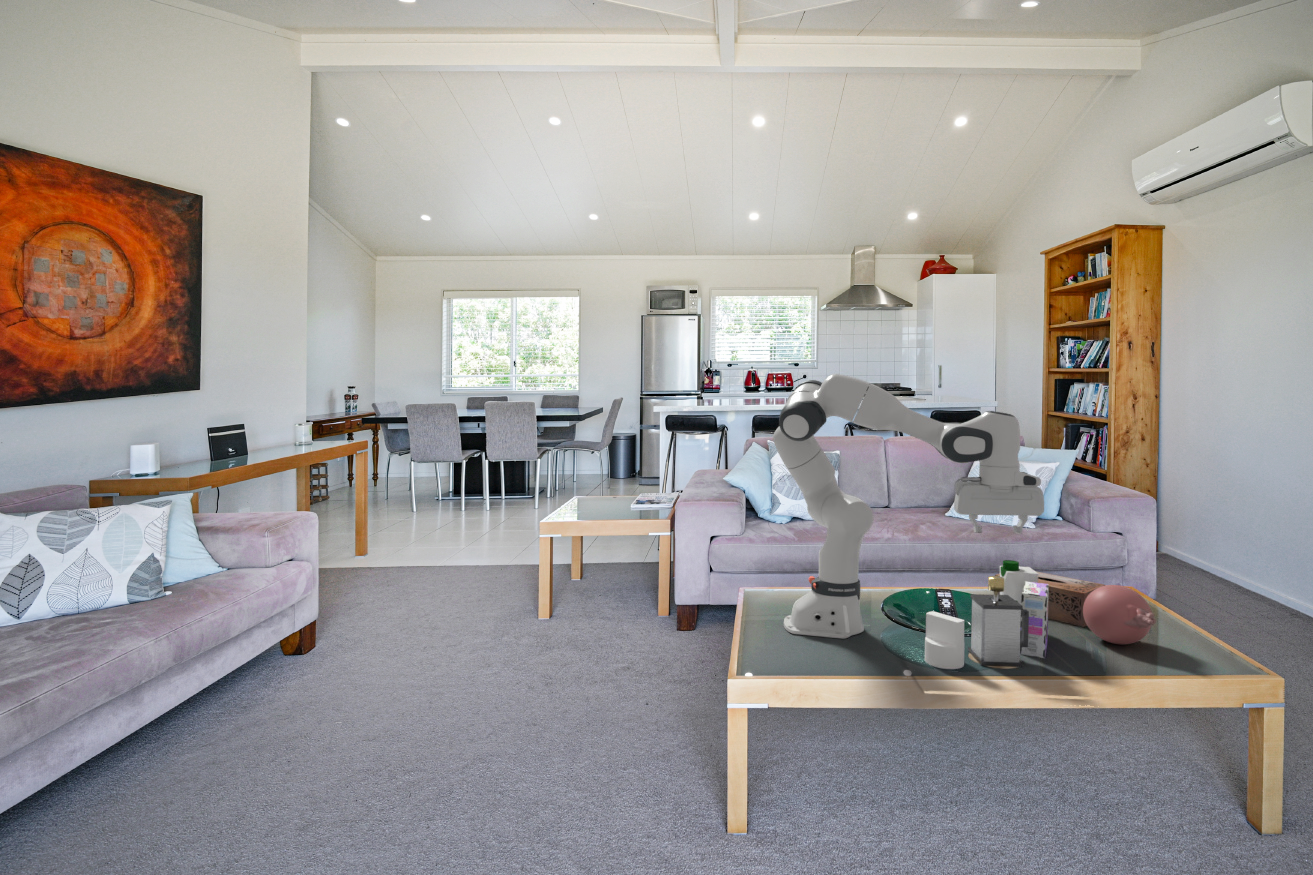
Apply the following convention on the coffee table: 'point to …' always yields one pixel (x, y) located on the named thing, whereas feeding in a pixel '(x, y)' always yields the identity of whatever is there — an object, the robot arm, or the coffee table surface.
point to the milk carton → (1016, 579)
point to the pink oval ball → (1117, 614)
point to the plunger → (996, 585)
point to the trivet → (989, 666)
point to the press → (998, 630)
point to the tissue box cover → (1066, 597)
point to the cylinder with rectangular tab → (944, 641)
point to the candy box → (1036, 618)
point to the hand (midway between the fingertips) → (997, 532)
